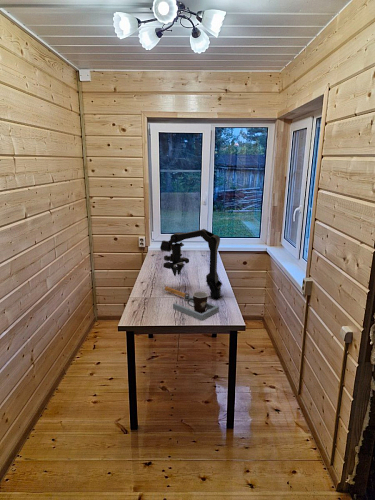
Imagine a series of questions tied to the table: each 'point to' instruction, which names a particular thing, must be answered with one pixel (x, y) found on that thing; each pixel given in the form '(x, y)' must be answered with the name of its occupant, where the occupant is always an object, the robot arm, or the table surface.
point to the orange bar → (177, 292)
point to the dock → (195, 314)
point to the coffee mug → (199, 301)
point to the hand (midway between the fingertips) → (176, 275)
